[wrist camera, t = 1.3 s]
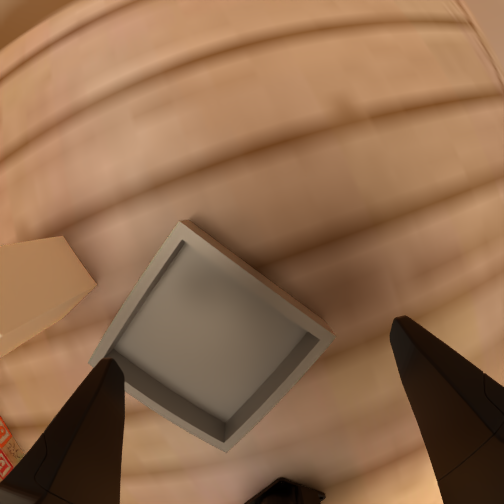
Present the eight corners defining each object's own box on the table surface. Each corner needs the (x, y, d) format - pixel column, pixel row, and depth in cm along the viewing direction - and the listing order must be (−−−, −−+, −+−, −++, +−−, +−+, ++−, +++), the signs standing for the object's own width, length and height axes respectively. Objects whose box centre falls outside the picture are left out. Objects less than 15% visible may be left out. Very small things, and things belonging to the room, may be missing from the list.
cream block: (97, 285, 23) (1, 335, 11) (62, 318, 24) (-28, 376, 12) (62, 235, 23) (-44, 253, 11) (30, 272, 23) (-69, 305, 11)
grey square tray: (228, 427, 25) (226, 452, 22) (105, 345, 24) (87, 362, 20) (324, 320, 24) (336, 336, 21) (188, 219, 23) (179, 220, 19)
